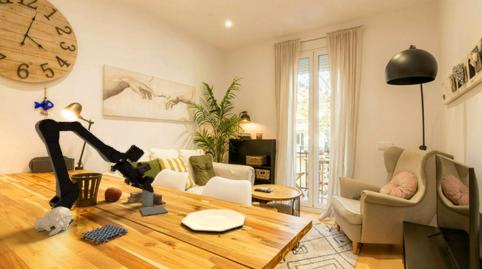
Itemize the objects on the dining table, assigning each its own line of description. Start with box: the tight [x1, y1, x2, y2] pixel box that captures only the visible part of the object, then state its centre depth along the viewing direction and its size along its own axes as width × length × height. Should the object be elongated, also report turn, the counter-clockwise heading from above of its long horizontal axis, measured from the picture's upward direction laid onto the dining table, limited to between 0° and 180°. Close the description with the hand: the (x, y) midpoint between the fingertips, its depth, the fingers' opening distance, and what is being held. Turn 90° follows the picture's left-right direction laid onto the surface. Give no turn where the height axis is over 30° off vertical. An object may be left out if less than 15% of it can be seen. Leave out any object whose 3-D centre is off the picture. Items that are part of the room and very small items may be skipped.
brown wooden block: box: [153, 192, 167, 206], centre depth 119 cm, size 4×12×4 cm, turn 50°
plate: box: [181, 208, 246, 233], centre depth 92 cm, size 24×24×2 cm
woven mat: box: [80, 224, 129, 245], centre depth 77 cm, size 10×11×2 cm
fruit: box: [104, 186, 123, 204], centre depth 120 cm, size 8×8×8 cm
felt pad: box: [139, 205, 169, 217], centre depth 104 cm, size 10×10×1 cm
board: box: [141, 186, 154, 208], centre depth 113 cm, size 3×5×9 cm, turn 50°
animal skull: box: [33, 207, 73, 237], centre depth 80 cm, size 6×8×12 cm
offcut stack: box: [127, 190, 142, 204], centre depth 120 cm, size 7×4×4 cm, turn 140°
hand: (150, 191), depth 114 cm, fingers open, 5 cm apart
